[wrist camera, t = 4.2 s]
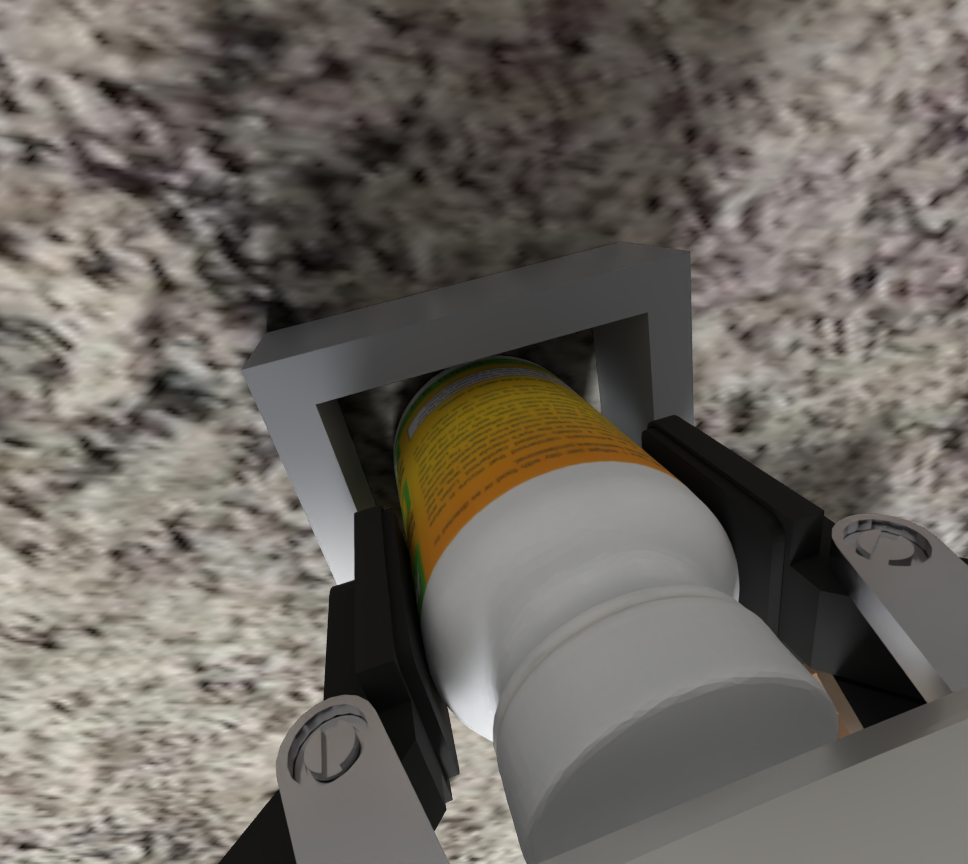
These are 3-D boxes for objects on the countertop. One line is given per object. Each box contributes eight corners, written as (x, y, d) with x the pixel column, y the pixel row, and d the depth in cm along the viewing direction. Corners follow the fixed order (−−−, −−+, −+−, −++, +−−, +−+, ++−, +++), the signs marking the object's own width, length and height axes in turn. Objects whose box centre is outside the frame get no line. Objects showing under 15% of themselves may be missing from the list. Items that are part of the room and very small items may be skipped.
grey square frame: (620, 241, 13) (690, 251, 10) (642, 521, 17) (696, 580, 14) (265, 333, 12) (241, 370, 9) (379, 609, 16) (385, 691, 13)
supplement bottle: (351, 420, 13) (347, 832, 5) (528, 312, 13) (867, 520, 4) (453, 554, 16) (578, 984, 7) (603, 463, 16) (914, 785, 7)
